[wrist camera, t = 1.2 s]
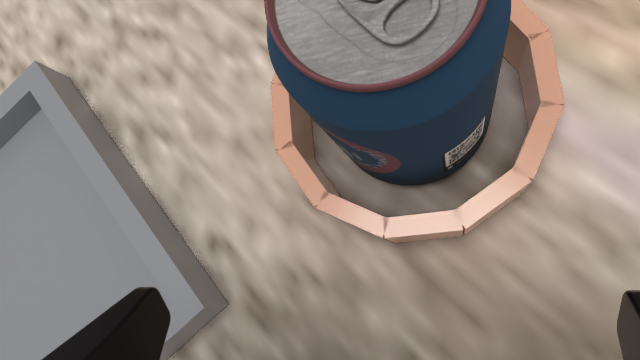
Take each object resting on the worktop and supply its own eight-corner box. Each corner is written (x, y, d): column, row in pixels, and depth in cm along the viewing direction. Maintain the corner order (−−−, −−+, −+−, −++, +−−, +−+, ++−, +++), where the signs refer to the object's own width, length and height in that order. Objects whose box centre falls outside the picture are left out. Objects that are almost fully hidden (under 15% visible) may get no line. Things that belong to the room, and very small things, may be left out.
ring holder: (483, 283, 22) (488, 285, 18) (261, 183, 25) (230, 170, 22) (584, 43, 22) (607, 3, 19) (353, -20, 26) (337, -63, 22)
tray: (228, 303, 24) (204, 307, 22) (-6, 514, 26) (-53, 538, 24) (68, 77, 30) (34, 60, 27) (-120, 263, 31) (-167, 262, 29)
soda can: (314, 119, 25) (194, -6, 14) (416, 22, 24) (379, -193, 13) (409, 220, 23) (360, 171, 12) (522, 116, 22) (589, -43, 11)
